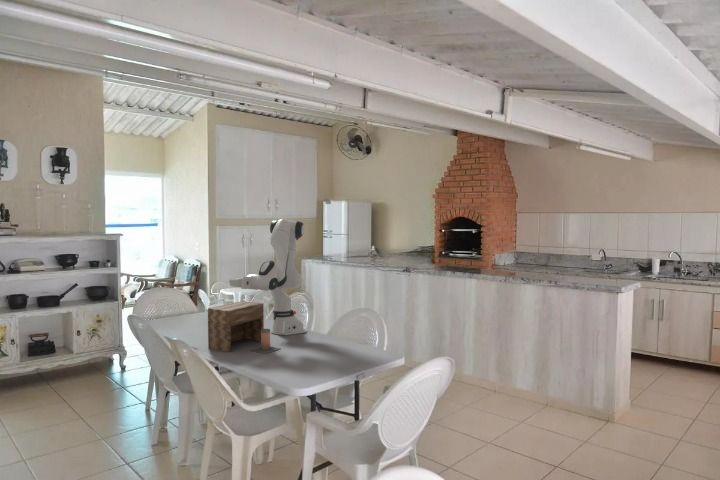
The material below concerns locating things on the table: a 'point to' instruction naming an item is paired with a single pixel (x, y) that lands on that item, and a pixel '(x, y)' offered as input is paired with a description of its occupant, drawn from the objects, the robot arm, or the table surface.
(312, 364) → the table surface
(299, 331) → the robot arm
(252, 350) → the mat
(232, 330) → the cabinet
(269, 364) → the table surface
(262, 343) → the canister
